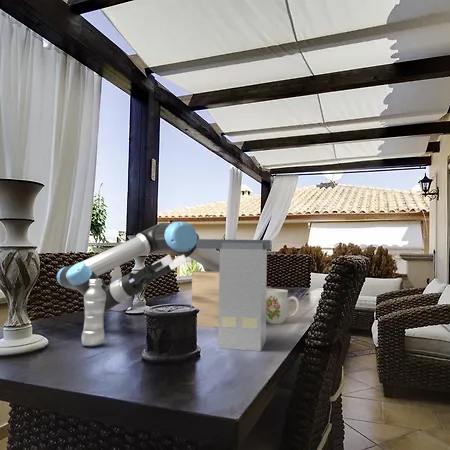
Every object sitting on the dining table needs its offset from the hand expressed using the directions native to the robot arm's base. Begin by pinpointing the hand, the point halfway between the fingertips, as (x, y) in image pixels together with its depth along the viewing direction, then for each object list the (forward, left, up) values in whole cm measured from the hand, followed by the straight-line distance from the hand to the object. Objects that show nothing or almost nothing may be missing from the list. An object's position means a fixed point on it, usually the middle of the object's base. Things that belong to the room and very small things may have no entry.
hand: (178, 257), depth 126 cm
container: (-47, -45, -27) cm, 71 cm away
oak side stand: (-27, +7, -27) cm, 38 cm away
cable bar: (0, +19, +3) cm, 19 cm away
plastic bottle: (+15, -21, -27) cm, 38 cm away
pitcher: (-39, +30, -27) cm, 56 cm away
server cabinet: (0, +22, -27) cm, 35 cm away
